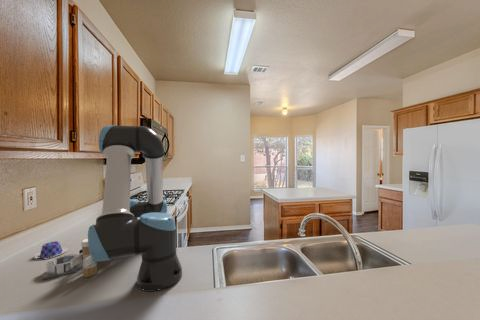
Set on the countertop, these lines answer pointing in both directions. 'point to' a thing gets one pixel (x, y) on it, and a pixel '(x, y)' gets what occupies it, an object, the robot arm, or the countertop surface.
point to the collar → (60, 267)
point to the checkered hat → (51, 250)
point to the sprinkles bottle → (92, 267)
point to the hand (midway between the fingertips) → (78, 263)
